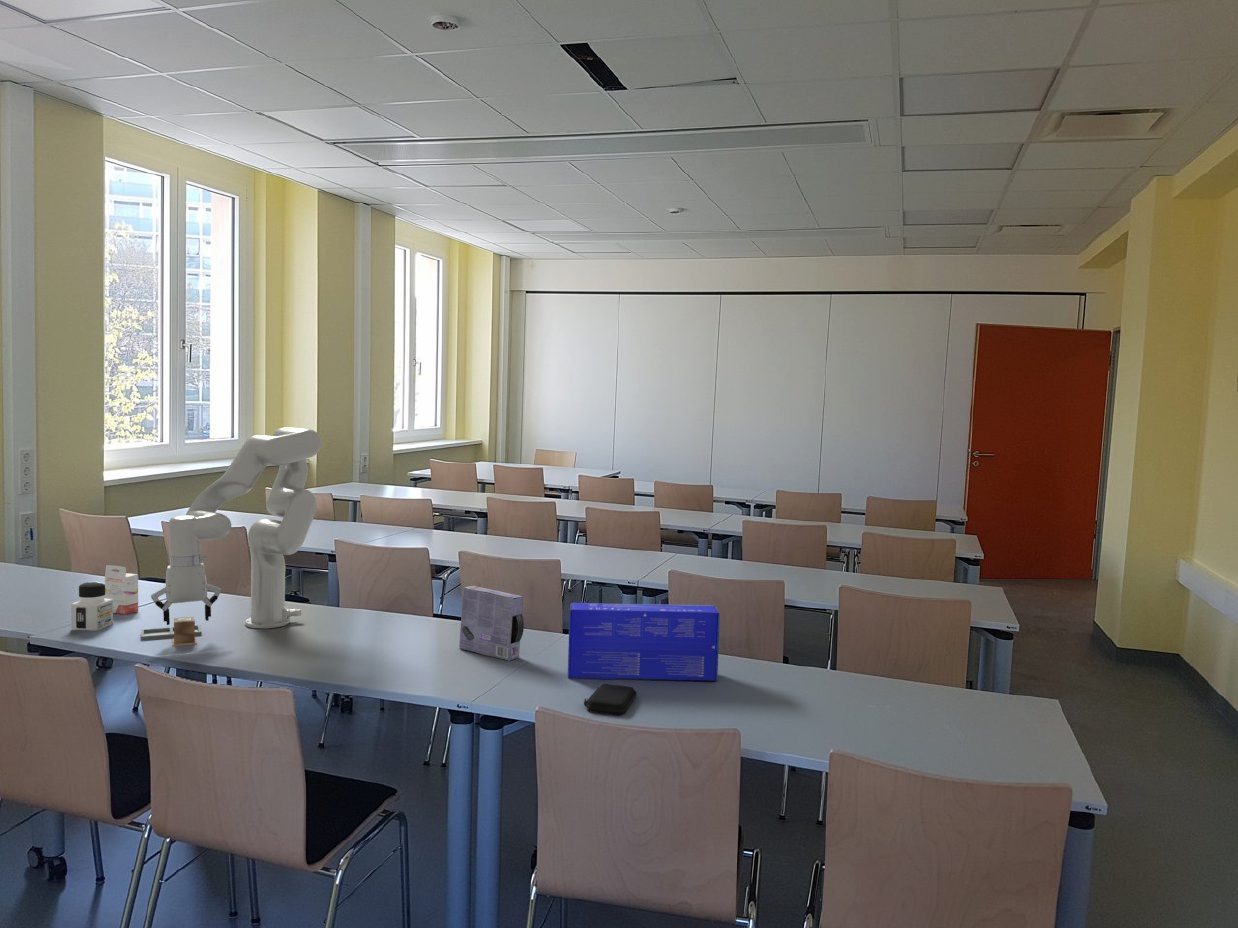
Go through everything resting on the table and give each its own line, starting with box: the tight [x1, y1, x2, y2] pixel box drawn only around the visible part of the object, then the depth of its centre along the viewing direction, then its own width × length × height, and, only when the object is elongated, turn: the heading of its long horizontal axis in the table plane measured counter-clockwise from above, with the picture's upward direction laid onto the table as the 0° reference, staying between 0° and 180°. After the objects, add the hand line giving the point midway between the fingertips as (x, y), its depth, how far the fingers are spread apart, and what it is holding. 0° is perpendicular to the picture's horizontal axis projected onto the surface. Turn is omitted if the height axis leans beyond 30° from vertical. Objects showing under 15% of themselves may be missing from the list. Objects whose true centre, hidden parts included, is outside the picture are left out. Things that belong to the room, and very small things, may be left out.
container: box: [70, 581, 114, 631], centre depth 253 cm, size 8×8×13 cm
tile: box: [171, 636, 198, 647], centre depth 242 cm, size 6×6×1 cm
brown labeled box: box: [173, 616, 196, 644], centre depth 241 cm, size 5×5×6 cm
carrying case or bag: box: [583, 683, 637, 716], centre depth 208 cm, size 11×3×15 cm
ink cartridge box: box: [104, 564, 139, 615], centre depth 271 cm, size 9×5×15 cm, turn 73°
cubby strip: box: [140, 624, 202, 641], centre depth 249 cm, size 15×8×1 cm, turn 118°
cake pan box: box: [458, 585, 525, 662], centre depth 243 cm, size 19×5×18 cm, turn 59°
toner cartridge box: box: [567, 602, 721, 682], centre depth 229 cm, size 39×8×18 cm, turn 92°
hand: (187, 621), depth 242 cm, fingers open, 9 cm apart
